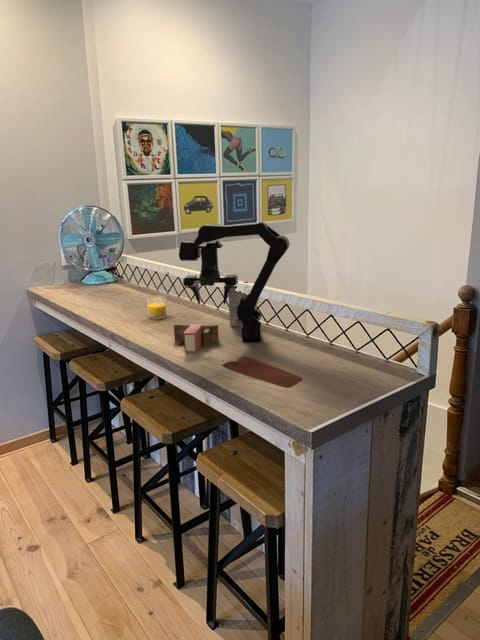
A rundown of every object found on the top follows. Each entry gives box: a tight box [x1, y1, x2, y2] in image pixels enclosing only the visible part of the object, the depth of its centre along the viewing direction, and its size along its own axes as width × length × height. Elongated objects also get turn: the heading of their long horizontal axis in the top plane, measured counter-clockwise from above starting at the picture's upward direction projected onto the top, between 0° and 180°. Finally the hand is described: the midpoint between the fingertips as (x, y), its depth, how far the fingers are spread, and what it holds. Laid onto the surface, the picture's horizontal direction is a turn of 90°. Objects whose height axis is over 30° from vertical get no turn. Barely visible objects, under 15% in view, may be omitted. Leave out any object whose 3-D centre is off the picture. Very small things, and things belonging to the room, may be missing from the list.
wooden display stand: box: [173, 323, 220, 347], centre depth 174 cm, size 16×6×6 cm, turn 81°
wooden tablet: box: [222, 355, 304, 388], centre depth 147 cm, size 27×10×2 cm, turn 44°
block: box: [184, 323, 204, 354], centre depth 169 cm, size 4×10×7 cm, turn 171°
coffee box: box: [228, 281, 249, 327], centre depth 195 cm, size 9×6×16 cm
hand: (212, 303), depth 176 cm, fingers open, 9 cm apart
